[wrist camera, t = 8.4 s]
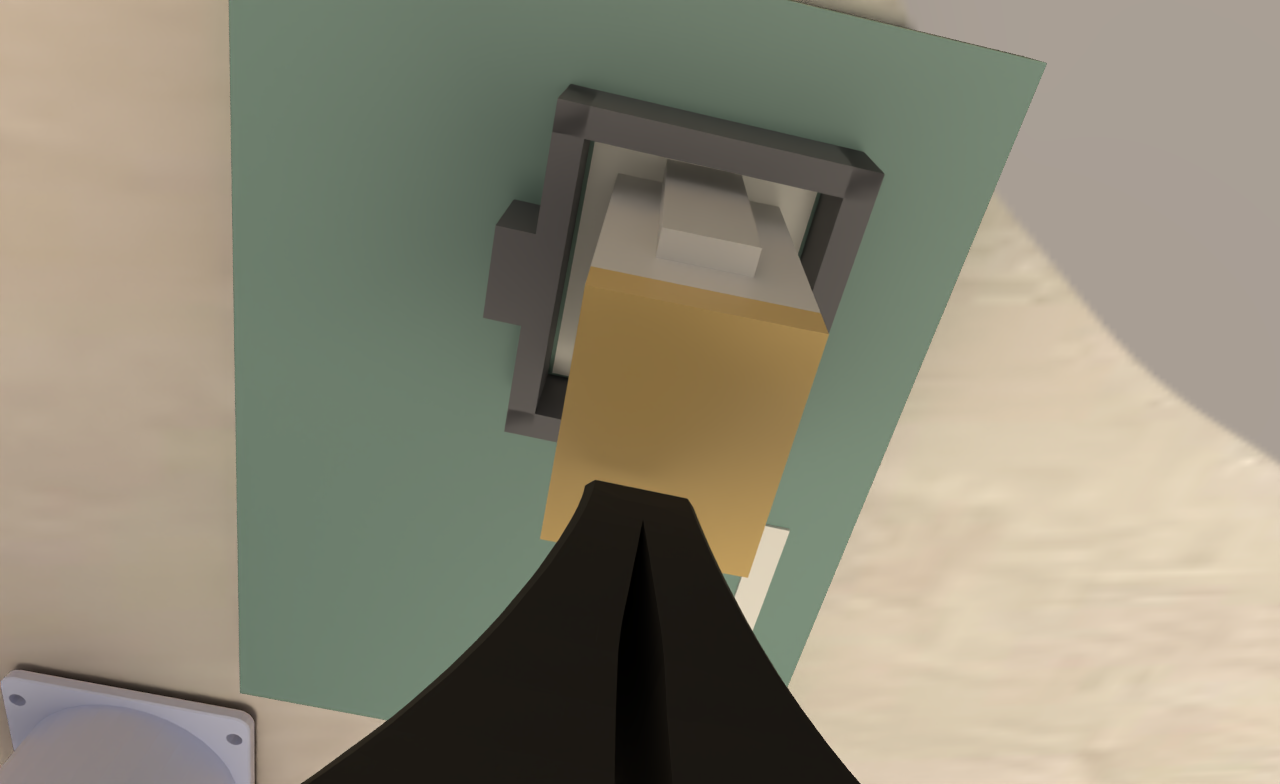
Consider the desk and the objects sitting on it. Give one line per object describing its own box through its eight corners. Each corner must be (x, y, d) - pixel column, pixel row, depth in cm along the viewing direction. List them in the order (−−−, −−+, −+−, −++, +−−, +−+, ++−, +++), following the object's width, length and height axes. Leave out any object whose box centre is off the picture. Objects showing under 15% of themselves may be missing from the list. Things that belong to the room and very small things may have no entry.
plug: (728, 389, 20) (747, 577, 14) (583, 361, 20) (539, 539, 14) (785, 184, 18) (839, 302, 12) (622, 149, 17) (590, 250, 11)
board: (743, 754, 28) (750, 845, 25) (257, 663, 27) (206, 747, 24) (1025, 56, 17) (1091, 76, 15) (255, -130, 16) (167, -148, 14)
